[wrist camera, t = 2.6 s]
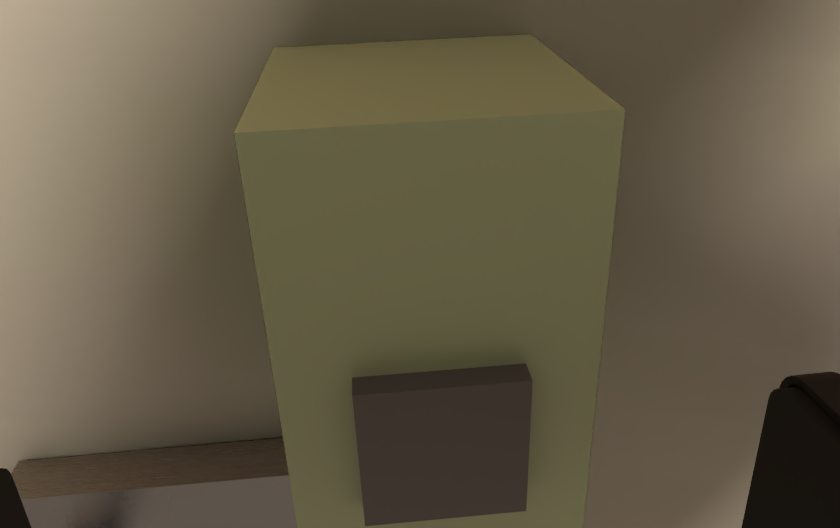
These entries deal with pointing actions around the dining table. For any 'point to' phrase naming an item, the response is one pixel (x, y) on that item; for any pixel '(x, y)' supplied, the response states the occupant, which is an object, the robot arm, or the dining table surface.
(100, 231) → the dining table surface
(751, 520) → the robot arm
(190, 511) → the chassis
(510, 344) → the block
